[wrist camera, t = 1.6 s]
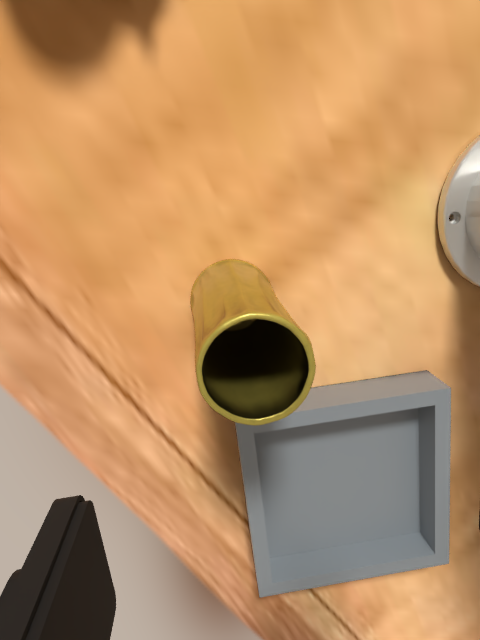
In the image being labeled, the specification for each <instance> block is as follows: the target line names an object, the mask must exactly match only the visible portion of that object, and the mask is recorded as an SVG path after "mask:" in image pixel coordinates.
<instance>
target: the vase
mask: <svg viewBox="0 0 480 640" xmlns="http://www.w3.org/2000/svg"><path fill="white" fill-rule="evenodd" d="M191 310H192V313H193V319H194V328H195V367H196V376H197V382H198V386H199V390H200V392H201V395H202V396H203V398H204V399H205V401H206V402H207V403H208V405H209V406H210V407H211V408H212V409H213V410H214V411H216V412H218V413H219V414H221V415H222V416H224V417H225V418H227V419H229V420H231V421H233V422H236V423H240V424H245V425H254V426H256V425H264V424H268V423H271V422H275V421H278V420H281V419H283V418H285V417H287V416H288V415H290V414H291V413H293V412H294V411H295V410H296V409H297V408H298V407H299V406H300V405H301V404H302V403H303V401H304V400H305V399H306V397H307V395H308V393H309V391H310V389H311V386H312V383H313V380H314V375H315V368H316V365H315V359H314V354H313V349H312V345H311V342H310V340H309V338H308V336H307V334H306V333H305V332H303V331H302V330H301V329H300V328H299V326H298V325H297V324H296V323H295V321H294V320H293V319H292V318H291V317H290V315H289V314H288V312H287V311H286V310H285V308H284V307H283V306H282V304H281V303H280V302H279V300H278V299H277V297H276V295H275V293H274V291H273V289H272V287H271V284H270V282H269V280H268V279H267V277H266V276H265V275H264V274H263V273H262V271H260V270H259V269H258V268H257V267H256V266H254V265H253V264H250V263H248V262H245V261H242V260H236V259H228V260H222V261H219V262H216V263H214V264H212V265H210V266H209V267H207V268H206V269H205V270H204V271H203V272H202V273H201V274H200V275H199V276H198V278H197V279H196V281H195V283H194V285H193V288H192V291H191Z"/></svg>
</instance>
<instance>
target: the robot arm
mask: <svg viewBox="0 0 480 640" xmlns="http://www.w3.org/2000/svg"><path fill="white" fill-rule="evenodd" d="M449 216H451V218H450V220H449ZM438 230H439V237H440V241H441V244H442V247H443V250H444V253H445V255H446V256H447V258H448V260H449V261H450V263H451V265H452V266H453V267H454V268H455V270H456V271H457V272H458V273H459V274H460V275H461V276H462V277H464V278H465V279H467V280H468V281H469V282H471V283H472V284H474V285H477V286H479V287H480V135H479V136H478V137H477V138H476V139H475V140H473V141H472V142H471V143H470V144H469V145H468V146H467V147H466V149H465V150H464V151H463V152H462V153H461V154H460V156H459V157H458V158H457V160H456V162H455V163H454V165H453V166H452V168H451V170H450V171H449V173H448V176H447V178H446V181H445V183H444V186H443V188H442V192H441V196H440V201H439V205H438ZM479 530H480V513H479ZM115 610H116V595H115V590H114V586H113V582H112V578H111V574H110V570H109V566H108V562H107V558H106V554H105V550H104V546H103V542H102V538H101V534H100V530H99V526H98V522H97V518H96V513H95V510H94V506H93V503H92V501H85V500H84V498H83V496H81V495H79V496H74V497H67V498H61V499H56V500H55V501H54V502H53V504H52V506H51V508H50V510H49V512H48V514H47V516H46V518H45V520H44V523H43V525H42V527H41V529H40V531H39V533H38V535H37V537H36V540H35V541H34V544H33V546H32V548H31V550H30V552H29V554H28V556H27V558H26V560H25V563H24V565H23V567H22V569H19V570H16V571H15V572H14V573H13V574H12V576H11V577H10V578H9V580H8V582H7V584H6V586H5V588H4V590H3V592H2V594H1V596H0V640H110V636H111V631H112V626H113V621H114V616H115Z"/></svg>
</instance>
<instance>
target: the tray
mask: <svg viewBox="0 0 480 640" xmlns="http://www.w3.org/2000/svg"><path fill="white" fill-rule="evenodd" d="M235 427H236V434H237V442H238V449H239V456H240V464H241V471H242V478H243V485H244V493H245V500H246V507H247V515H248V522H249V529H250V536H251V544H252V551H253V558H254V565H255V572H256V578H257V584H258V591H259V597H266V596H271V595H277V594H282V593H288V592H293V591H299V590H305V589H310V588H316V587H321V586H327V585H332V584H338V583H344V582H349V581H355V580H360V579H366V578H371V577H377V576H383V575H388V574H394V573H399V572H405V571H410V570H416V569H422V568H427V567H433V566H438V565H444V564H449V519H450V431H451V388H450V387H449V386H448V385H446V384H445V383H444V382H442V381H441V380H439V379H438V378H437V377H435V376H434V375H433V374H431V373H430V372H429V371H427V370H426V371H419V372H412V373H406V374H399V375H393V376H386V377H380V378H373V379H366V380H360V381H353V382H347V383H340V384H333V385H327V386H320V387H314V388H311V389H310V391H309V393H308V395H307V397H306V399H305V400H304V401H303V403H302V404H301V405H300V406H299V407H298V408H297V409H296V410H295V411H294V412H293V413H291V414H290V415H288V416H287V417H285V418H283V419H281V420H278V421H275V422H271V423H268V424H264V425H256V426H254V425H245V424H240V423H236V422H235Z"/></svg>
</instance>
